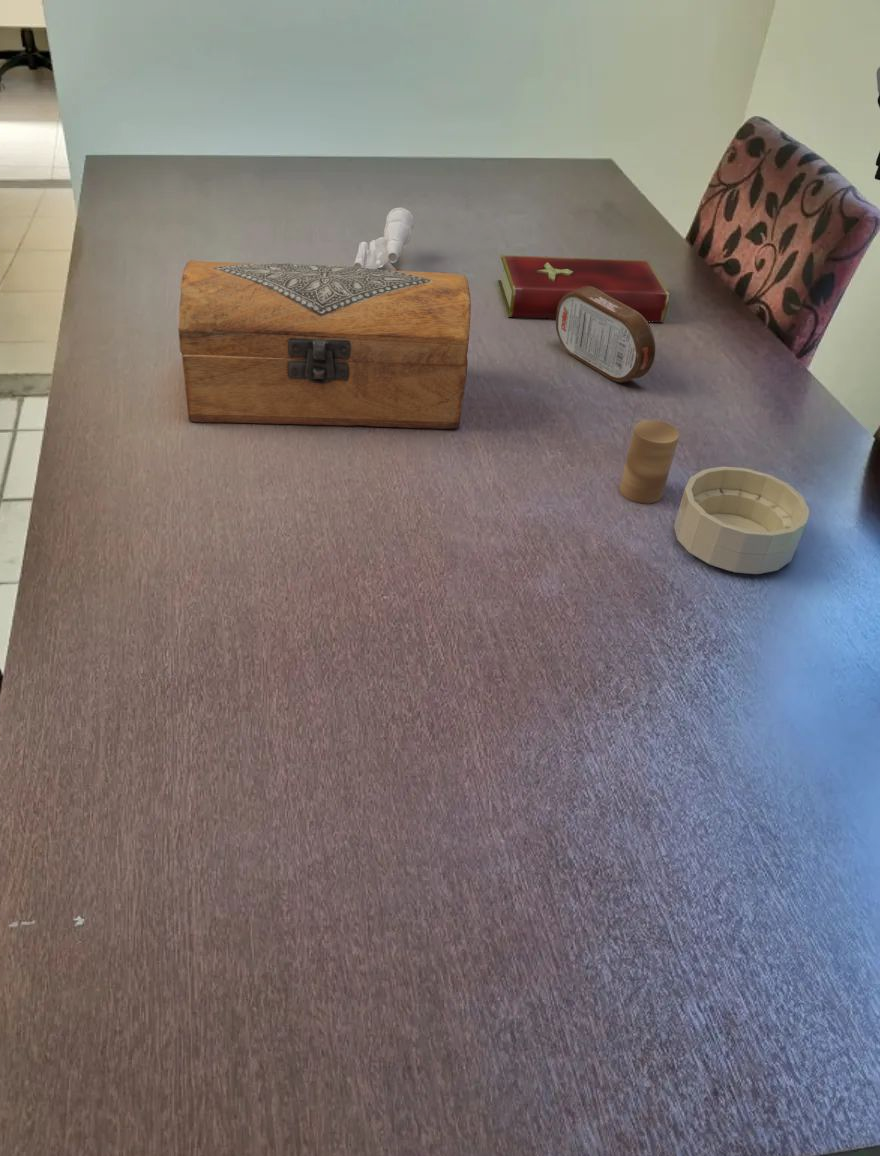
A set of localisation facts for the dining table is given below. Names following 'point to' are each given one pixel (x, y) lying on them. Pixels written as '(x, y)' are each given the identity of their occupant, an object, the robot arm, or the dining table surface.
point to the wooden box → (323, 345)
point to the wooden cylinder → (648, 461)
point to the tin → (605, 334)
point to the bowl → (741, 519)
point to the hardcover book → (579, 284)
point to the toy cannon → (387, 241)
